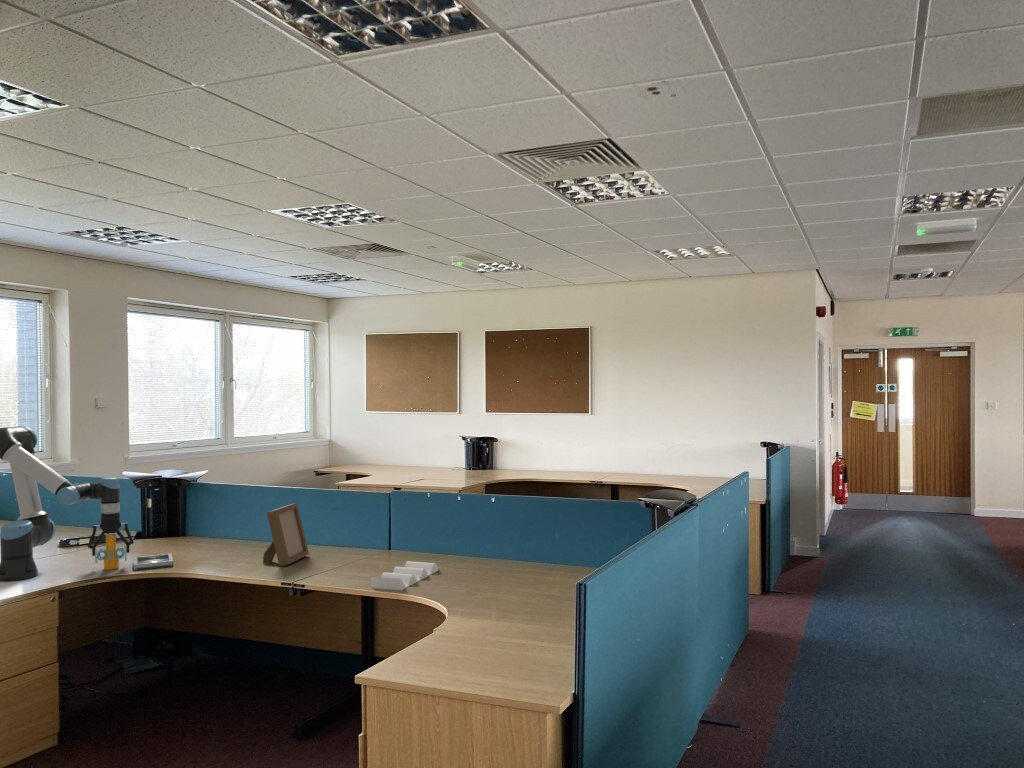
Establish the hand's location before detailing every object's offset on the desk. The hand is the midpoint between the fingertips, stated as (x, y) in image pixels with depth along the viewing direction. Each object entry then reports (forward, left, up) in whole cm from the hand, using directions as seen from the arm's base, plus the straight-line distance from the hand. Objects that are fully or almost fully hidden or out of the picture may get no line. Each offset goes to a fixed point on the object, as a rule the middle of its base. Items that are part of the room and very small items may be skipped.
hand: (111, 561), depth 350 cm
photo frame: (+71, -24, -3) cm, 75 cm away
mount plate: (+17, -1, -3) cm, 17 cm away
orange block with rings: (0, 0, -3) cm, 3 cm away
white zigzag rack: (+111, -84, -4) cm, 139 cm away
